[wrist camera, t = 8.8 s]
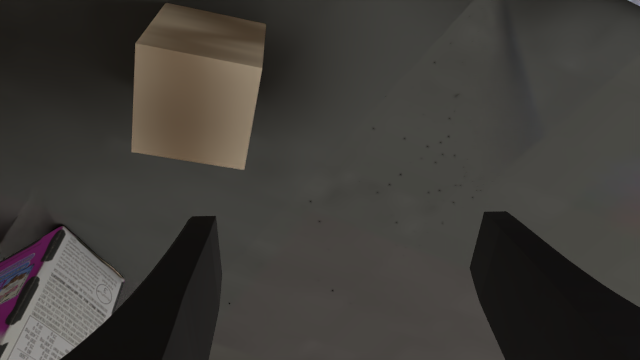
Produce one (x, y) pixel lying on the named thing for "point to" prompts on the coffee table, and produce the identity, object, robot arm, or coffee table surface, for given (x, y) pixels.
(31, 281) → the candy bar box
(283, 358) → the coffee table surface
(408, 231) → the coffee table surface
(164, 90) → the beech block
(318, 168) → the coffee table surface
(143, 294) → the robot arm
